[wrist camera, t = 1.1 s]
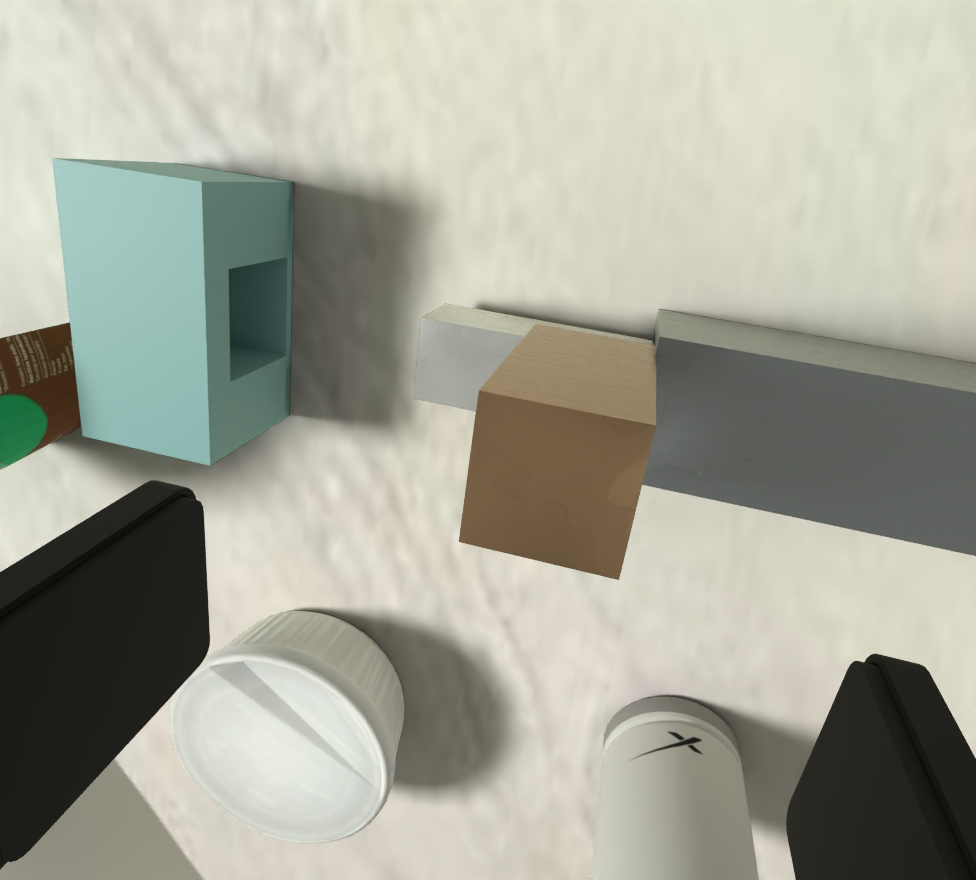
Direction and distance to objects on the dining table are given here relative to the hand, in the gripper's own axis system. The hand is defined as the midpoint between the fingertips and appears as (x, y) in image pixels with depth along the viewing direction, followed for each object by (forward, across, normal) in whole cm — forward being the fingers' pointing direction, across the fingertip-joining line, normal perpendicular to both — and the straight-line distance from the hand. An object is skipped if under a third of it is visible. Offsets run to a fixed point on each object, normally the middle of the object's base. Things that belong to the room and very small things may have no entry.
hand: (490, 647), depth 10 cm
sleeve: (+19, -8, +1) cm, 20 cm away
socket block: (+19, +16, +1) cm, 24 cm away
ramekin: (+18, +11, +21) cm, 30 cm away
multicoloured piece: (+18, -3, +1) cm, 18 cm away
